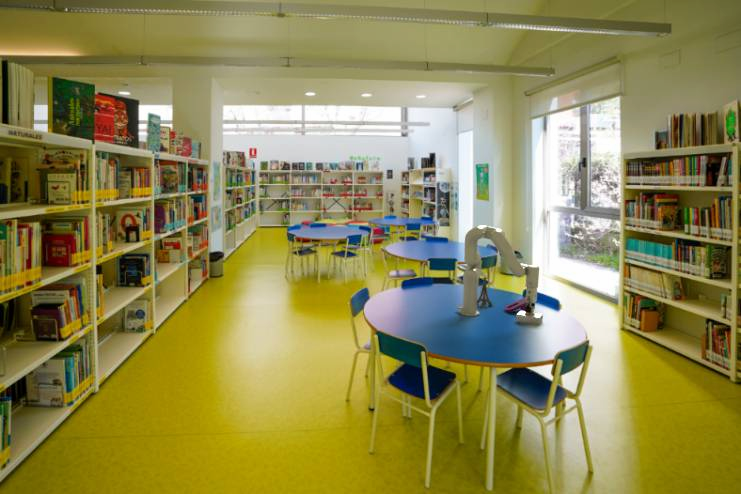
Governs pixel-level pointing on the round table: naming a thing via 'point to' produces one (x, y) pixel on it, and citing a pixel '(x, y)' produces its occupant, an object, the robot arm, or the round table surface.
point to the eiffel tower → (484, 292)
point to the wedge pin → (531, 311)
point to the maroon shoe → (516, 305)
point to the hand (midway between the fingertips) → (530, 310)
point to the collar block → (529, 318)
